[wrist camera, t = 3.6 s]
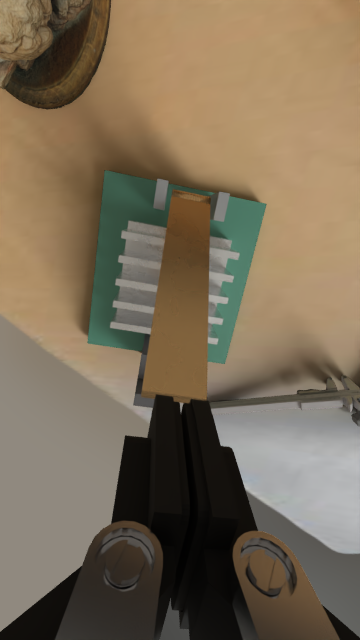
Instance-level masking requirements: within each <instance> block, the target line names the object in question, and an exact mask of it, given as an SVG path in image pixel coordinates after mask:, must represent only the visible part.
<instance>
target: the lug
mask: <svg viewBox="0 0 360 640" xmlns="http://www.w3.org/2000/svg"><path fill="white" fill-rule="evenodd" d="M149 340H150V334H146V333H145V337H144V343H143V349H142V355H141V362H140V368H139V374H138V380H137V386H136V392H135V398H134V404H133V405H136V406H143V407H151V408H153V405H154V400H155V399H151V398H144V397H141V392H142V386H143V379H144V373H145V366H146V359H147V353H148V346H149Z"/></svg>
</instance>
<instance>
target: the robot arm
mask: <svg viewBox="0 0 360 640" xmlns="http://www.w3.org/2000/svg"><path fill="white" fill-rule="evenodd" d="M170 598H171V606H172V610H179V617H180V618H179V619H180V628H181V629H189V634H190V635H189V636H190V640H360V638H359V637H358V636H357V635H356V634H355V633H354V632H352V631H351V630H350V629H349V628H348V627H347V626H346V625H344V624H343V623H342V622H341V621H340V620H339V619H338V618H336V617H335V616H334V615H333V614H332V613H331V612H329V611H328V610H327V609H326V608H325V607H324V606H323V605H322V604H321V603H320V601H319V599H318V597H317V595H316V593H315V591H314V589H313V587H312V586H311V584H310V582H309V580H308V578H307V576H306V574H305V572H304V571H303V569H302V567H301V565H300V563H299V561H298V560H297V559H296V557H295V555H294V554H293V552H292V551H291V550H290V549H289V548H288V547H287V546H286V545H285V544H284V543H283V542H282V541H280V540H279V539H277V538H276V537H274V536H273V535H270V534H268V533H265V532H261V531H258V529H257V526H256V523H255V520H254V517H253V513H252V510H251V507H250V504H249V500H248V497H247V494H246V491H245V488H244V484H243V481H242V478H241V475H240V471H239V468H238V465H237V462H236V459H235V455H234V452H233V450H232V449H231V448H230V447H224V446H221V445H220V442H219V438H218V434H217V430H216V426H215V423H214V419H213V415H212V411H211V407H210V404H209V401H204V400H196V399H191V400H190V402H189V403H184V404H183V407H182V412H180V403H179V402H175V401H174V398H173V396H165V395H157V394H156V396H155V400H154V405H153V410H152V416H151V421H150V427H149V432H148V438H143V437H134V436H125V440H124V446H123V453H122V459H121V465H120V471H119V478H118V484H117V490H116V497H115V504H114V509H113V516H112V522H111V524H110V525H109V526H107V527H105V528H103V529H102V530H101V531H100V532H99V533H98V534H97V535H96V536H95V537H94V539H93V541H92V543H91V545H90V546H89V548H88V551H87V554H86V556H85V560H84V562H83V565H82V566H81V567H80V568H79V569H77V570H76V571H75V572H74V573H72V574H71V575H70V576H69V577H68V578H66V579H65V580H64V581H62V582H61V583H60V584H59V585H58V586H56V587H55V588H54V589H53V590H52V591H50V592H49V593H48V594H47V595H45V596H44V597H43V598H41V599H40V600H39V601H38V602H37V603H35V604H34V605H33V606H32V607H30V608H29V609H28V610H27V611H25V612H24V613H23V614H22V615H21V616H19V617H18V618H17V619H16V620H14V621H13V622H12V623H11V624H9V625H8V626H7V627H6V628H4V629H3V630H2V631H1V632H0V640H159V639H160V636H161V632H162V628H163V624H164V620H165V617H166V613H167V609H168V606H169V601H170Z"/></svg>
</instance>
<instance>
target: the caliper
mask: <svg viewBox="0 0 360 640" xmlns="http://www.w3.org/2000/svg"><path fill="white" fill-rule="evenodd" d="M341 380H342V384H343V386H344V388H345V390H340V391H338V390H337V387H336V385H335V383H334V381H333V380H332V378H327V385H326V390H314V389H309V390H298V391H297V394H295V395H284V396H273V397H262V398H251V399H240V400H228V401H217V402H209V404H210V407H211V411H212V415H222V414H235V413H247V412H259V411H271V410H283V409H295V408H301V410H312V409H326V408H340V407H342V405H344V404H345V406H347V408H348V410H349V412H350V413H351V411H352V409H353V406H354V407H355V408H356V409H357V410H359V411H360V388H359V387H358V386H357V385H356V384H355V383H354V382H353V381H352V380H350V379H349V378H348V377H347V376H341Z"/></svg>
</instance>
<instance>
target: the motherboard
mask: <svg viewBox="0 0 360 640" xmlns="http://www.w3.org/2000/svg"><path fill="white" fill-rule="evenodd" d="M173 189H175V190H180V191H184V192H189V193H194V194H199V195H204V196H208V197H211V203H210V236H215V237H220V238H225V239H229V240H232V243H231V247H230V248H231V249H233V250H235V251H237V252H239V253H240V254H239V258H238V260H235V259H230V258H228V260H227V264H226V269H227V270H228V271H229V272H230V273H231V274H232V275H233V276H234V278H233V282H232V283H231V282H226V281H222V285H221V288H222V290H223V291H224V292H225V294H226V295H227V296H228V298H229V299H228V303H227V304H222V303H217V308H218V310H219V312H220V313H221V315H222V317H223V323H222V325H219V324H213V323H212V325H213V327H214V329H215V332H216V334H217V336H218V343H217V345H216V344H210V343H208V359H207V361H208V362H215V363H222V364H225V361H226V357H227V353H228V349H229V346H230V342H231V338H232V334H233V330H234V327H235V323H236V319H237V315H238V311H239V307H240V304H241V300H242V296H243V292H244V288H245V284H246V281H247V277H248V273H249V269H250V265H251V262H252V258H253V254H254V250H255V246H256V242H257V239H258V235H259V231H260V227H261V223H262V220H263V216H264V212H265V208H266V204H264V203H259V202H255V201H250V200H245V199H240V198H236V197H231V196H230V194H229V193H224V192H217V193H212V192H207V191H202V190H197V189H193V188H188V187H183V186H178V185H174V184H169V183H168V181H167V180H162V179H157V181H154V180H150V179H145V178H140V177H135V176H131V175H126V174H121V173H116V172H112V171H107V170H105V173H104V183H103V193H102V203H101V213H100V223H99V233H98V243H97V253H96V263H95V273H94V284H93V294H92V304H91V314H90V324H89V334H88V343H89V344H96V345H102V346H109V347H116V348H122V349H129V350H135V351H142V349H143V343H144V337H145V333H140V332H133V331H127V330H121V329H114V328H110V324H111V320H112V318H113V316H114V314H115V312H116V310H117V308H116V307H113V300H114V299H115V297H116V295H117V293H118V292H119V290H120V286H118V285H115V283H116V278H117V276H118V275H119V274H120V272H121V271H122V268H123V263H120V262H118V259H119V255H120V254H121V253H122V252H123V251H124V250H125V245H126V239H123V238H121V234H122V230H125V229H127V228H128V221H129V220H133V221H138V222H143V223H148V224H153V225H158V226H164V227H167V221H168V215H169V208H170V201H171V195H172V190H173Z"/></svg>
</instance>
